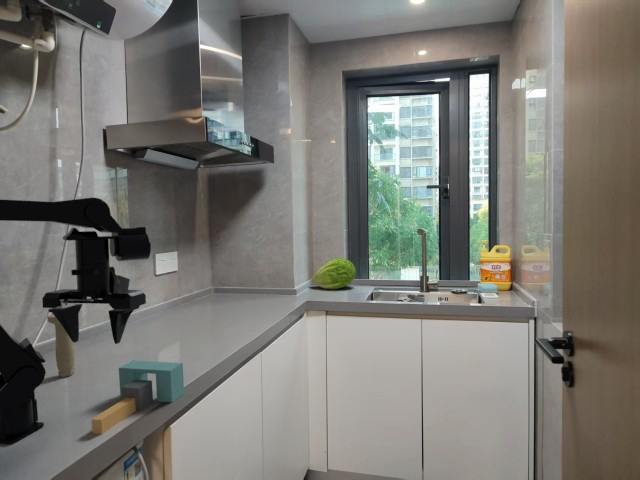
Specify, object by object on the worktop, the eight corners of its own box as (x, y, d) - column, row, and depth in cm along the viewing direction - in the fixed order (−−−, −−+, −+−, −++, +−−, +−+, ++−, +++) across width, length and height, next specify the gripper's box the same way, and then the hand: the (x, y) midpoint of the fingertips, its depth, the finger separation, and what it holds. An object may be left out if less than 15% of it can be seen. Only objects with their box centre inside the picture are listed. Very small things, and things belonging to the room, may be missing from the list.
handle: (85, 372, 106) (81, 312, 105) (59, 381, 100) (55, 317, 99) (73, 369, 108) (69, 310, 107) (47, 378, 102) (42, 316, 101)
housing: (172, 402, 86) (170, 370, 86) (120, 398, 89) (118, 367, 89) (184, 393, 90) (182, 363, 90) (134, 389, 93) (132, 360, 93)
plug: (107, 434, 74) (105, 409, 74) (87, 432, 75) (85, 407, 75) (156, 400, 88) (154, 378, 87) (138, 399, 88) (137, 377, 88)
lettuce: (308, 297, 215) (323, 294, 229) (351, 284, 204) (364, 282, 218) (300, 268, 218) (315, 267, 232) (342, 254, 207) (356, 254, 221)
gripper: (159, 259, 89) (162, 333, 90) (80, 259, 93) (83, 331, 93) (126, 264, 78) (129, 348, 79) (38, 264, 82) (42, 345, 82)
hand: (96, 342), depth 84 cm, fingers open, 9 cm apart
